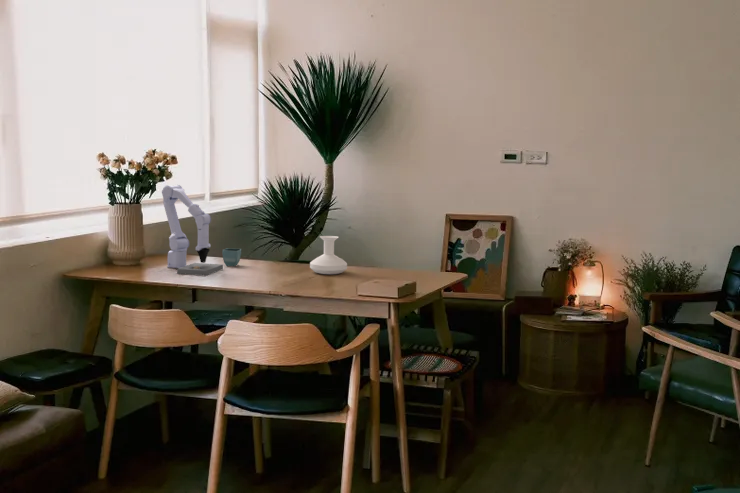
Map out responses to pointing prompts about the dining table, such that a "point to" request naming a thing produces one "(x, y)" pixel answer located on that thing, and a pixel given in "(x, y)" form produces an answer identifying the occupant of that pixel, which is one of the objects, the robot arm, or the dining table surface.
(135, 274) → the dining table surface
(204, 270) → the board
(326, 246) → the white vase
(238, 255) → the flower pot
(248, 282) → the dining table surface
